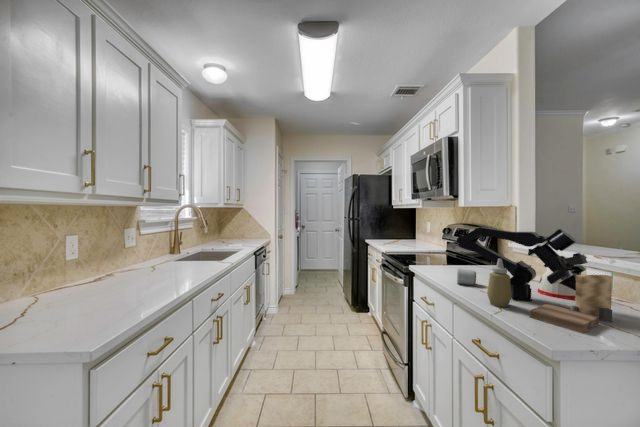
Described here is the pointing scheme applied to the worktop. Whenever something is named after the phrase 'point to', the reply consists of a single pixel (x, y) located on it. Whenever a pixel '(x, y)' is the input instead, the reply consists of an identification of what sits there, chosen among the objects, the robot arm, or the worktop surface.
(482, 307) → the worktop surface
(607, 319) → the stop block
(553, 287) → the kitchen timer
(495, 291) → the squeeze bottle
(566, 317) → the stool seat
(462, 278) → the ceramic mug
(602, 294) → the light wooden board
